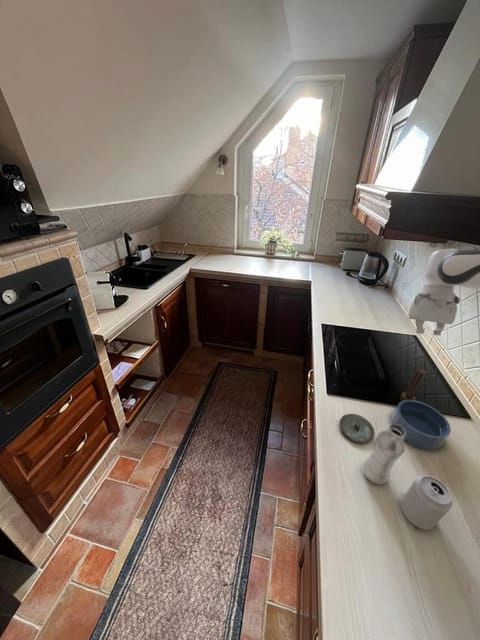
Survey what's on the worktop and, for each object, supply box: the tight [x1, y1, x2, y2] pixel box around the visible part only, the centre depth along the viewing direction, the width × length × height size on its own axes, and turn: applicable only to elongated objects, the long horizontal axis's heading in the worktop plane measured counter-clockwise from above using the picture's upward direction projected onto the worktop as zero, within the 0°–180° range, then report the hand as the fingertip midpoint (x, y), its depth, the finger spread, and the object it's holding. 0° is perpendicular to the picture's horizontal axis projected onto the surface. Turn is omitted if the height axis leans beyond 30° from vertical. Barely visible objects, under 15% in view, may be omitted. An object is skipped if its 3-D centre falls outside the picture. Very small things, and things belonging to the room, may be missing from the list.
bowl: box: [391, 399, 452, 451], centre depth 83 cm, size 15×15×6 cm
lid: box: [339, 413, 375, 444], centre depth 83 cm, size 11×10×5 cm
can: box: [399, 474, 453, 531], centre depth 61 cm, size 8×8×12 cm
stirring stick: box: [399, 368, 427, 402], centre depth 92 cm, size 5×5×15 cm
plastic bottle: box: [362, 423, 406, 485], centre depth 67 cm, size 6×7×20 cm
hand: (428, 334), depth 91 cm, fingers open, 8 cm apart
